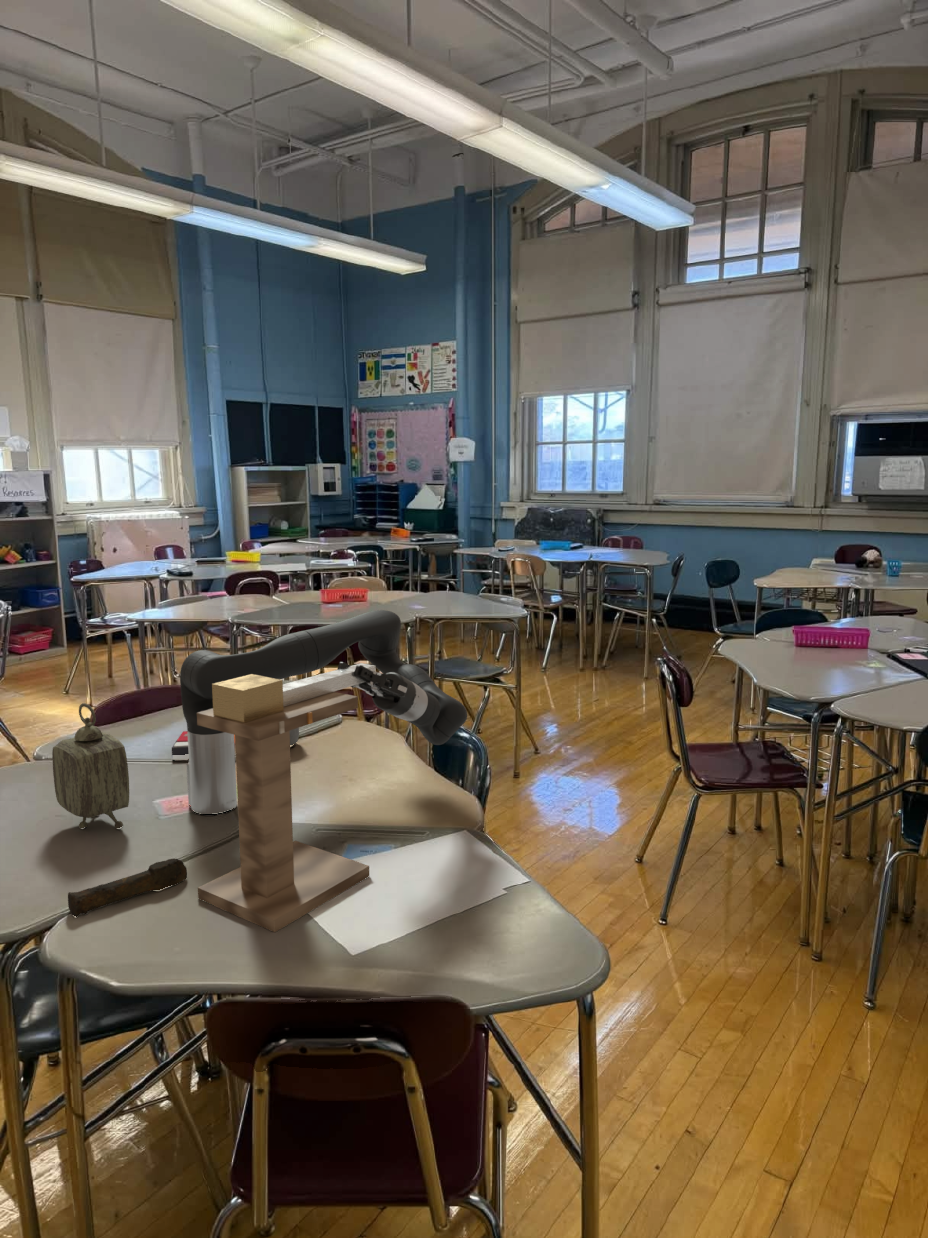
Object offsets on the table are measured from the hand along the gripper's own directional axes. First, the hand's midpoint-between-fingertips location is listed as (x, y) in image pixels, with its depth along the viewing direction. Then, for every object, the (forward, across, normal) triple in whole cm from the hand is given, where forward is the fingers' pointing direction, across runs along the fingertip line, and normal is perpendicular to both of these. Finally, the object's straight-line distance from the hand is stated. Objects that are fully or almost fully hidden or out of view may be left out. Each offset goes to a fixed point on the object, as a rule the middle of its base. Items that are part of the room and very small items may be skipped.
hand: (348, 668), depth 148 cm
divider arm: (+8, 0, +8) cm, 11 cm away
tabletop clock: (0, -50, +41) cm, 64 cm away
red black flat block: (-37, -71, +20) cm, 83 cm away
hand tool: (+11, -19, +47) cm, 52 cm away
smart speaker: (-49, -57, +12) cm, 76 cm away
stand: (-3, 0, +38) cm, 39 cm away
